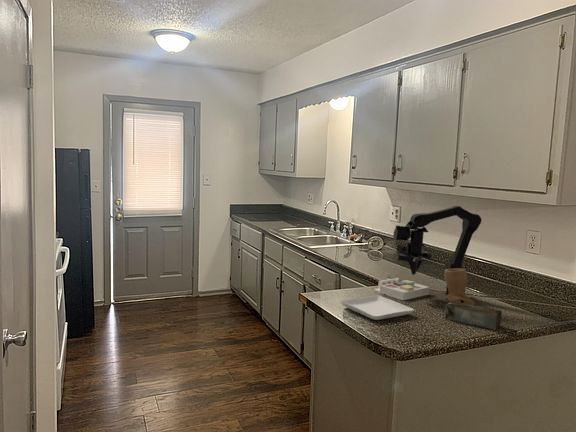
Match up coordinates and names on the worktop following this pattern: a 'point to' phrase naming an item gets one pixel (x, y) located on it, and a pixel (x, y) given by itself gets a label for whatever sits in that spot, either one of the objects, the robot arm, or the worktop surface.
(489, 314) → the weathered grey rectangular box
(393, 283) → the key charcoal
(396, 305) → the salad plate
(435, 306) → the worktop surface
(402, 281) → the key sage
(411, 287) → the block
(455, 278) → the tan boot
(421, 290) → the keypad
